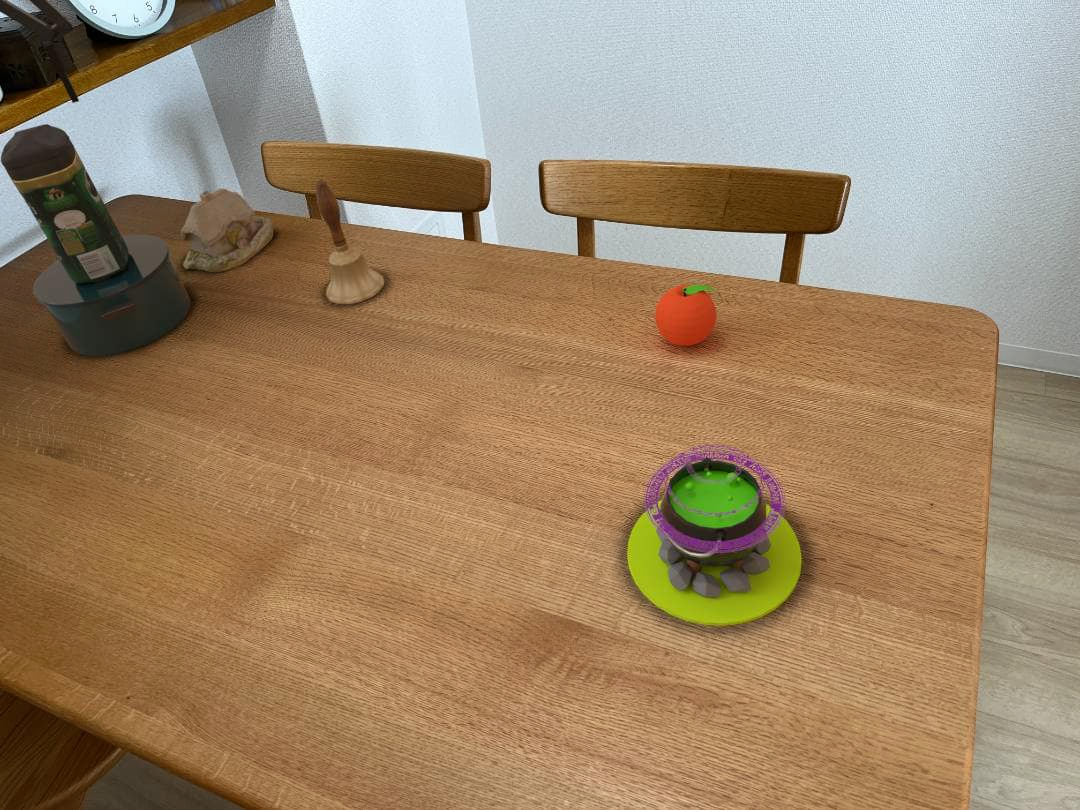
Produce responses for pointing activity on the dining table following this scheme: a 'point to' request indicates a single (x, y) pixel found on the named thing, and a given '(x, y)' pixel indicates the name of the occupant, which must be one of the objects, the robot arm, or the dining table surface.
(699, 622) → the toy cauldron
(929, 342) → the dining table surface
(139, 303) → the teal round box
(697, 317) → the clementine
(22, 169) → the coffee jar
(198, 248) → the ceramic model
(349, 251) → the hand bell
